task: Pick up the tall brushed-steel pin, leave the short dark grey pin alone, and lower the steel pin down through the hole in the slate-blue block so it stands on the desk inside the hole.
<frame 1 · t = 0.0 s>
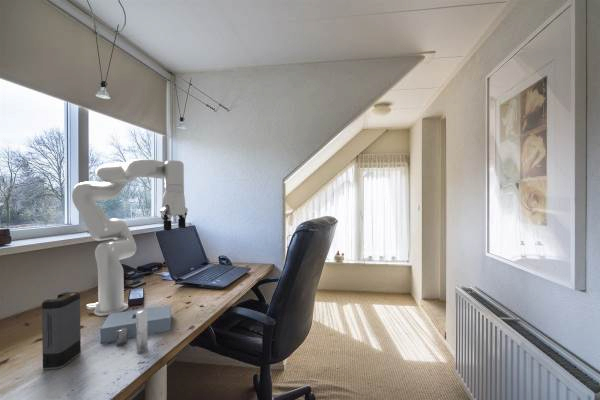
hand: (175, 229, 119), 37 cm above the table, tool pointing down, fingers open, 9 cm apart
long pin: (142, 351, 91), on the table
bore block: (139, 328, 107), on the table
short pin: (121, 344, 95), on the table
electronic device: (62, 361, 86), on the table
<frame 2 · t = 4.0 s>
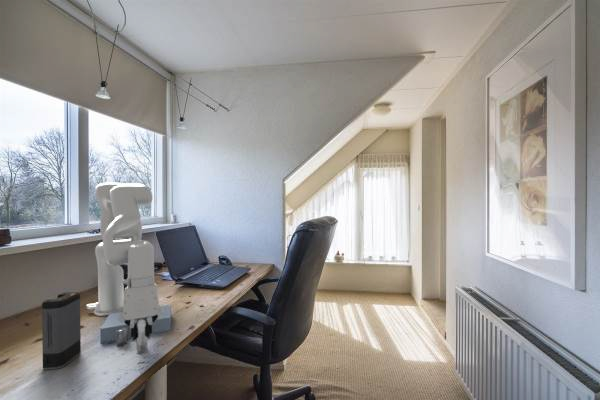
hand: (142, 336, 91), 5 cm above the table, tool pointing down, fingers closed on long pin, 3 cm apart
long pin: (142, 351, 91), on the table, touching gripper
everything else where it was.
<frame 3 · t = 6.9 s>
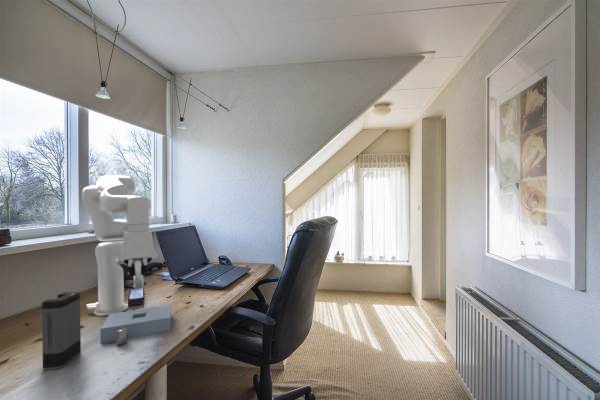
hand: (138, 275, 107), 21 cm above the table, tool pointing down, fingers closed on long pin, 3 cm apart
long pin: (138, 287, 107), point 16 cm above the table, touching gripper
everything else where it was.
when the fingers open (6 cm above the table, at t = 9.6 s): long pin drops 1 cm, resting in bore block.
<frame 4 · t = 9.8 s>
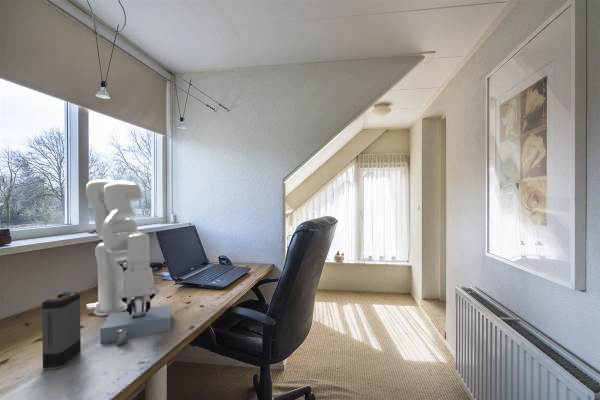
hand: (139, 311, 107), 6 cm above the table, tool pointing down, fingers open, 4 cm apart
long pin: (139, 328, 107), resting in bore block
everything else where it was.
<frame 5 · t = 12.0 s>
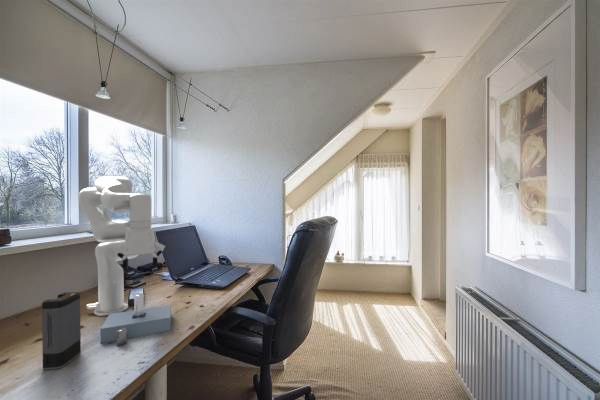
hand: (140, 268, 109), 23 cm above the table, tool pointing down, fingers open, 9 cm apart
nothing on the table moved.
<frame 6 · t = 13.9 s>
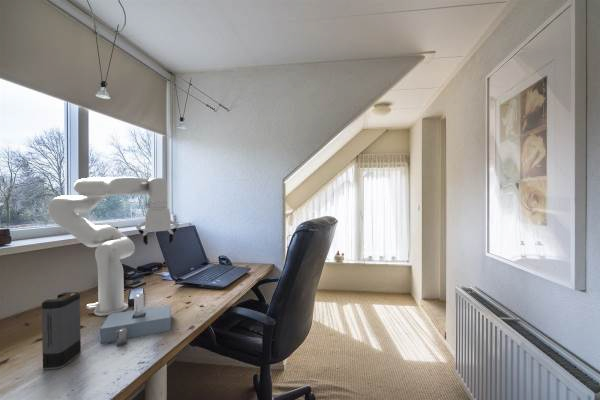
hand: (158, 243, 124), 30 cm above the table, tool pointing down, fingers open, 9 cm apart
nothing on the table moved.
at the end: long pin 0.0 cm off-centre on the bore block, point 0.0 cm above the bore block's base; long pin tilted 0°; short pin moved 0.0 cm from its start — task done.
